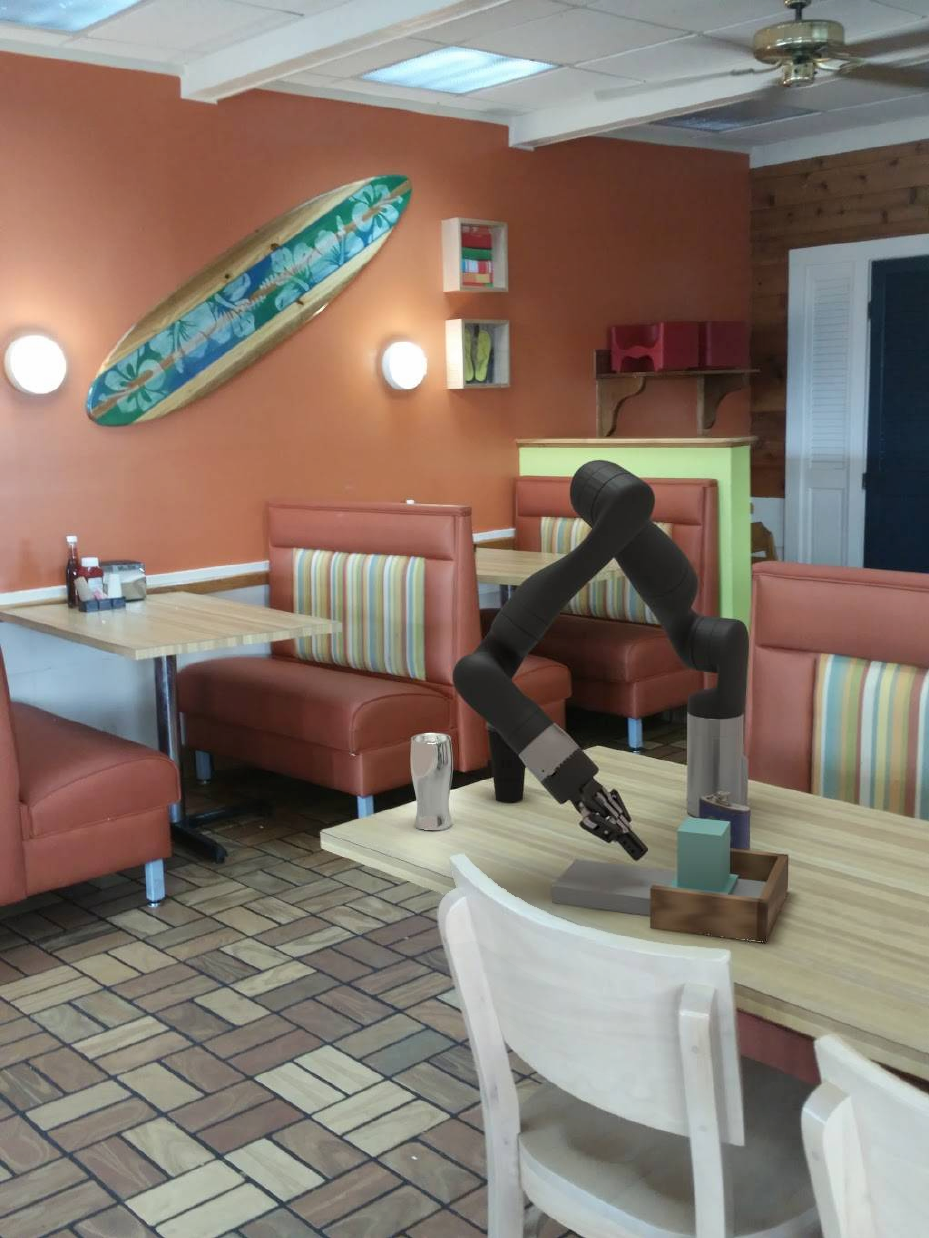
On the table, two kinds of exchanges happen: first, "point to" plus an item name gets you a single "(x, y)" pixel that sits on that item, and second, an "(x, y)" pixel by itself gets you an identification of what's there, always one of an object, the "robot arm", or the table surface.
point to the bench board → (622, 886)
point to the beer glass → (432, 779)
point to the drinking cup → (505, 769)
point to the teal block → (704, 857)
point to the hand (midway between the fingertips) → (642, 855)
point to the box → (726, 901)
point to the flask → (728, 817)
